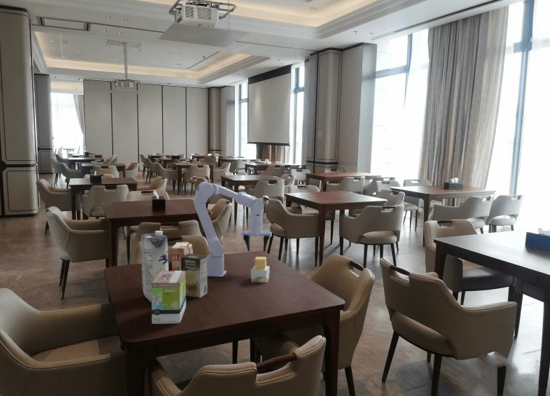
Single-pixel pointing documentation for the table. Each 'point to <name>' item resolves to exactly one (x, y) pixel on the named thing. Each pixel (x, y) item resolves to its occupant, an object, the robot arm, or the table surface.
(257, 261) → the mustard cube
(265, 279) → the birch slab
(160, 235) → the juice carton
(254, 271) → the grey-blue slab
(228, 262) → the table surface
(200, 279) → the coffee box
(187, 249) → the red cream box
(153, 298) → the tea box
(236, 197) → the robot arm
